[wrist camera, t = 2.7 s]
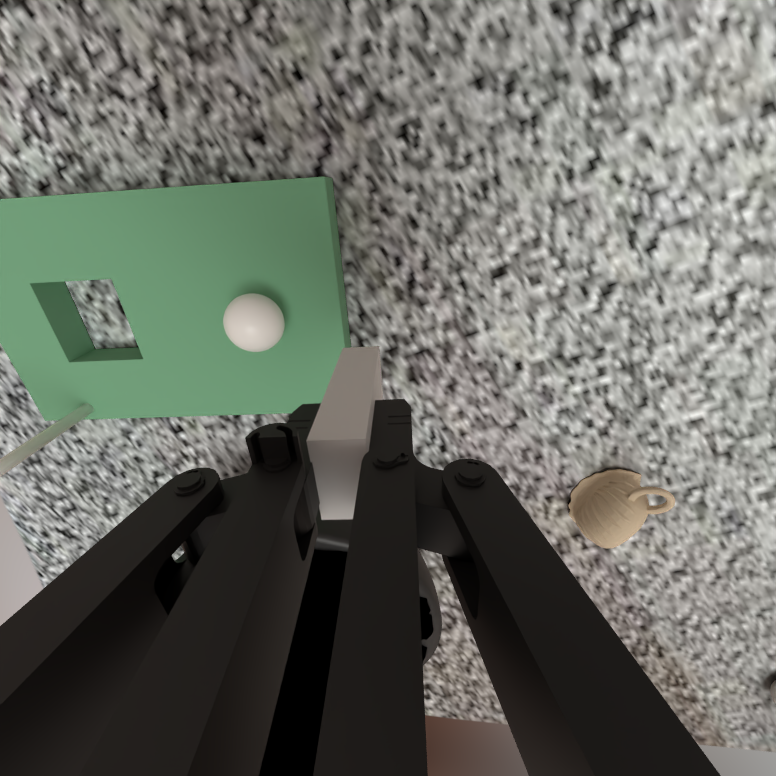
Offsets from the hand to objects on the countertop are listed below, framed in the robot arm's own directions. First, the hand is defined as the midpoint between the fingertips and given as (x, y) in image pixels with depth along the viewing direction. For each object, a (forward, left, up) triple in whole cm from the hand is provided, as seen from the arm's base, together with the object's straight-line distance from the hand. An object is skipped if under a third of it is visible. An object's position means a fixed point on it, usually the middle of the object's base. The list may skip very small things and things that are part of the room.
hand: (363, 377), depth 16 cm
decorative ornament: (+18, +19, -12) cm, 28 cm away
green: (0, -14, -12) cm, 19 cm away
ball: (0, -7, -7) cm, 10 cm away
